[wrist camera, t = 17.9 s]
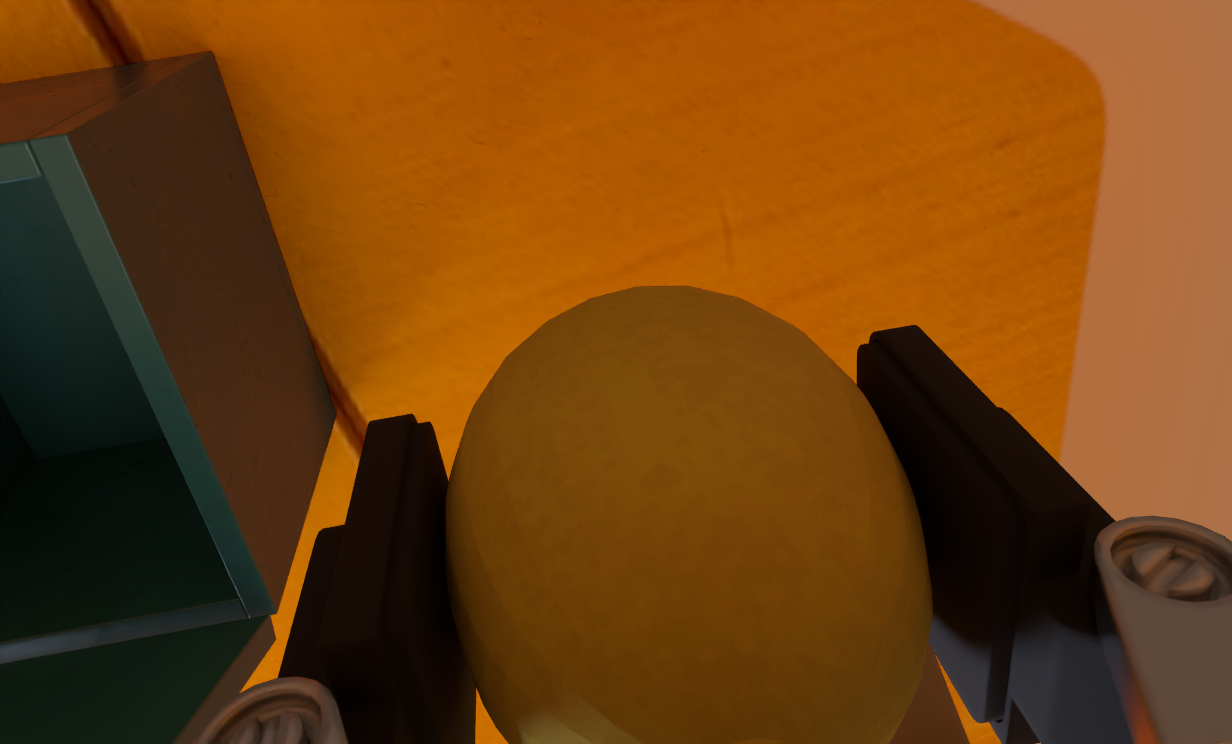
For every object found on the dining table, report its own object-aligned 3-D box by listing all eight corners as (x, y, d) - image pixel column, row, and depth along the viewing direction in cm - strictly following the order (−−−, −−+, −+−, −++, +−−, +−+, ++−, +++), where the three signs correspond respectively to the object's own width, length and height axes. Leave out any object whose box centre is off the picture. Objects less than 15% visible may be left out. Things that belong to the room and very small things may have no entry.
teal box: (-167, 110, 27) (-519, 227, 18) (212, 50, 28) (66, 133, 18) (35, 468, 34) (-144, 692, 24) (337, 415, 34) (277, 614, 25)
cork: (833, 703, 46) (923, 918, 36) (785, 634, 43) (869, 849, 33) (939, 651, 45) (1061, 857, 35) (897, 577, 42) (1017, 781, 32)
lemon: (863, 343, 15) (1200, 759, 8) (641, 555, 16) (751, 1058, 9) (614, 127, 12) (767, 433, 5) (385, 397, 14) (277, 903, 7)
